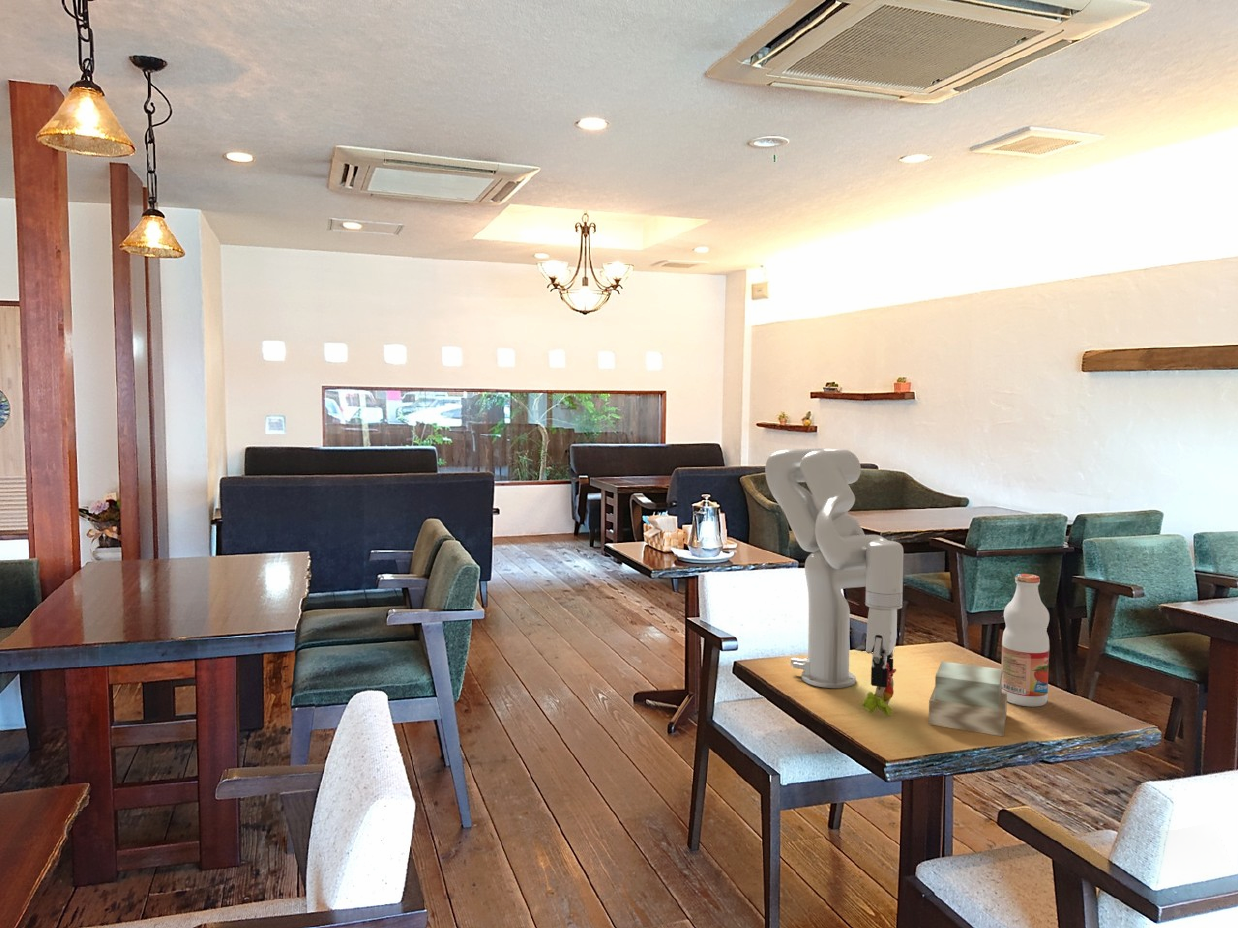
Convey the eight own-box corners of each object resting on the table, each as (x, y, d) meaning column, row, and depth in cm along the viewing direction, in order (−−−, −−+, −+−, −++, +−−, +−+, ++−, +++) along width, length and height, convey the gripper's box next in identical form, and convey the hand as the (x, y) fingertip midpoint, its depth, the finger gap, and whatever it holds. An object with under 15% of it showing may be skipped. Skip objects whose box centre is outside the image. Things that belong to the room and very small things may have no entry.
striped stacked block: (928, 724, 173) (929, 676, 172) (936, 704, 184) (937, 659, 184) (1003, 736, 166) (1004, 686, 166) (1006, 714, 178) (1007, 668, 177)
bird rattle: (868, 714, 184) (857, 708, 177) (876, 663, 187) (865, 656, 180) (897, 720, 181) (887, 715, 173) (904, 668, 184) (895, 661, 176)
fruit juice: (1000, 690, 193) (1004, 570, 191) (1046, 696, 189) (1050, 573, 187) (1000, 703, 184) (1003, 578, 183) (1048, 710, 181) (1052, 581, 179)
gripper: (873, 589, 188) (871, 667, 189) (857, 605, 173) (855, 690, 174) (908, 592, 185) (906, 671, 186) (895, 609, 169) (893, 696, 171)
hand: (882, 680), depth 180 cm, fingers closed on bird rattle, 6 cm apart
